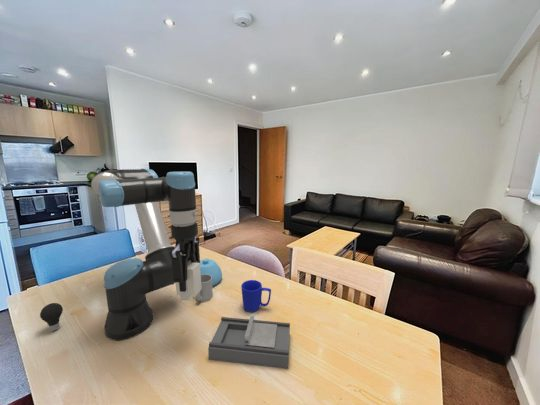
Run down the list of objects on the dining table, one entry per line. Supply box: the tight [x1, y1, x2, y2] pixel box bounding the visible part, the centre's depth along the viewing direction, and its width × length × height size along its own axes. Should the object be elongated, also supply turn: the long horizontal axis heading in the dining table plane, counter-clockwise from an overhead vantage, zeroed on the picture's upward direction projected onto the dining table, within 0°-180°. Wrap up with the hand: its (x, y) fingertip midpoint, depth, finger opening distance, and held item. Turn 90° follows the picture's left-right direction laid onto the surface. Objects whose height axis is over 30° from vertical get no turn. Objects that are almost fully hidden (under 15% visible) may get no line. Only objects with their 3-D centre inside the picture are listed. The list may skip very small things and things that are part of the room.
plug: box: [175, 260, 202, 301], centre depth 70 cm, size 6×4×12 cm
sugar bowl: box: [200, 258, 223, 287], centre depth 111 cm, size 15×15×12 cm
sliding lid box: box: [207, 316, 291, 369], centre depth 73 cm, size 24×13×5 cm, turn 83°
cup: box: [195, 274, 214, 303], centre depth 97 cm, size 7×10×9 cm
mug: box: [240, 279, 272, 312], centre depth 91 cm, size 8×12×10 cm
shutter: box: [245, 315, 277, 349], centre depth 72 cm, size 9×10×4 cm
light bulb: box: [39, 302, 63, 332], centre depth 78 cm, size 6×6×10 cm
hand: (189, 294), depth 71 cm, fingers closed on plug, 4 cm apart
